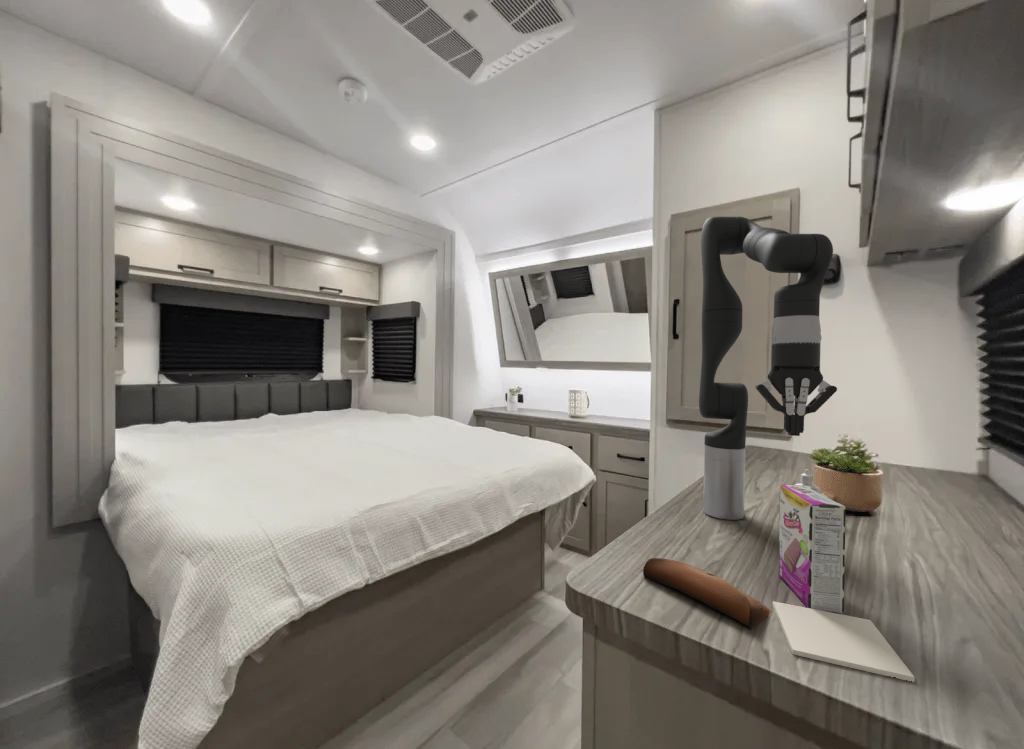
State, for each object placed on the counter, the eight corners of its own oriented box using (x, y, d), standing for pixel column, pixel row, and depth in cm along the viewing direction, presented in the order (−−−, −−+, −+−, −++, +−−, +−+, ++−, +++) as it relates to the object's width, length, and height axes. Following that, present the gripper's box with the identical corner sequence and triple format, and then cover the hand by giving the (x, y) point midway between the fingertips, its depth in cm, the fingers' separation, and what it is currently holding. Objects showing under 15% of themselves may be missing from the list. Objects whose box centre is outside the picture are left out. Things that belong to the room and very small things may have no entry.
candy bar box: (776, 576, 73) (778, 483, 73) (807, 579, 72) (810, 485, 72) (807, 612, 62) (810, 502, 62) (845, 616, 61) (848, 505, 61)
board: (772, 605, 64) (772, 601, 64) (870, 624, 59) (870, 620, 59) (792, 654, 52) (792, 649, 52) (914, 682, 48) (914, 677, 48)
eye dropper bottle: (812, 522, 100) (814, 473, 99) (788, 515, 105) (789, 467, 104) (823, 520, 101) (824, 471, 101) (799, 512, 106) (800, 466, 106)
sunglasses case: (777, 610, 62) (768, 579, 60) (758, 650, 58) (747, 617, 56) (670, 564, 77) (659, 537, 75) (649, 593, 73) (638, 566, 71)
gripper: (831, 343, 78) (829, 435, 78) (751, 343, 83) (749, 430, 83) (846, 340, 71) (844, 441, 71) (758, 341, 76) (756, 435, 76)
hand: (793, 435), depth 77 cm, fingers closed
